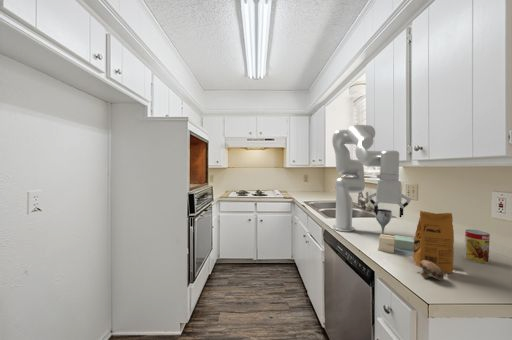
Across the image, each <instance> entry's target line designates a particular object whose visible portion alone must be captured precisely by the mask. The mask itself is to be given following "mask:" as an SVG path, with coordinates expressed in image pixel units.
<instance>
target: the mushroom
mask: <svg viewBox="0 0 512 340" xmlns="http://www.w3.org/2000/svg"><path fill="white" fill-rule="evenodd" d="M420 266H421V267H420V268H422V270H421V271H419V273H420V276H421V277H422V278H424V279H429V278H434V279H436V280H438V281H442V280H443V279H444V271H442V270H441V269H440V268H439V267H438V266H437V265H435V264H434V263H432V262H431V261H428V260H422V261H420Z"/></svg>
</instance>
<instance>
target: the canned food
mask: <svg viewBox="0 0 512 340" xmlns="http://www.w3.org/2000/svg"><path fill="white" fill-rule="evenodd" d="M490 235H491V233H490V232H488V231H484V230H479V229H465V233H464V236H465V237H464V259H465V260H468V261H470V262H474V263H479V264H488V263H489V261H490V257H489V255H490V238H491V237H490Z"/></svg>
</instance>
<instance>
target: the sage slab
mask: <svg viewBox="0 0 512 340" xmlns="http://www.w3.org/2000/svg"><path fill="white" fill-rule="evenodd" d="M393 236H395V248H399V249H405V250H411V251H413V247H414V240H415V237H413V236H412V237H411V236H405V235H404V236H403V235H397V234H395V235H393Z"/></svg>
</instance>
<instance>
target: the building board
mask: <svg viewBox="0 0 512 340" xmlns="http://www.w3.org/2000/svg"><path fill="white" fill-rule="evenodd" d="M377 251H378V252H381V251H380V250H379V247H378V248H377ZM382 252H383V253H387V252H386V251H382ZM388 253H390V254H395V255H401V256H406V257H412V258H413V251H411V250H405V249H399V248H394V253H392V252H388Z"/></svg>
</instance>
